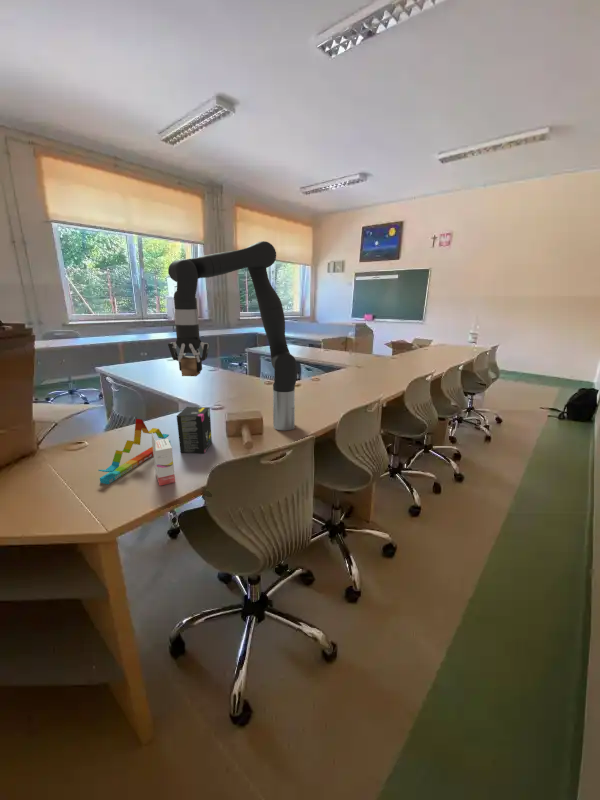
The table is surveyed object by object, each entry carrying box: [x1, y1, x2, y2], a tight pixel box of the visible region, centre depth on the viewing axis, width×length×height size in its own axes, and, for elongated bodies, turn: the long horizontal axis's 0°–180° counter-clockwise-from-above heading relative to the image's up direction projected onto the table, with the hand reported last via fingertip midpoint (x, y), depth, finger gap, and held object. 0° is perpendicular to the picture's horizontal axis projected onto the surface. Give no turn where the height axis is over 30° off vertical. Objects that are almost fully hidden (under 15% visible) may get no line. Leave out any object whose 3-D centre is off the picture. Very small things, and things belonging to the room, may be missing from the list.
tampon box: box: [176, 406, 213, 454], centre depth 127 cm, size 11×9×15 cm
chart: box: [97, 418, 172, 485], centre depth 116 cm, size 30×3×15 cm, turn 164°
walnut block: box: [180, 355, 201, 377], centre depth 120 cm, size 5×5×6 cm
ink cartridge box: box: [151, 433, 176, 487], centre depth 105 cm, size 9×5×15 cm, turn 29°
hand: (191, 371), depth 120 cm, fingers closed on walnut block, 5 cm apart
